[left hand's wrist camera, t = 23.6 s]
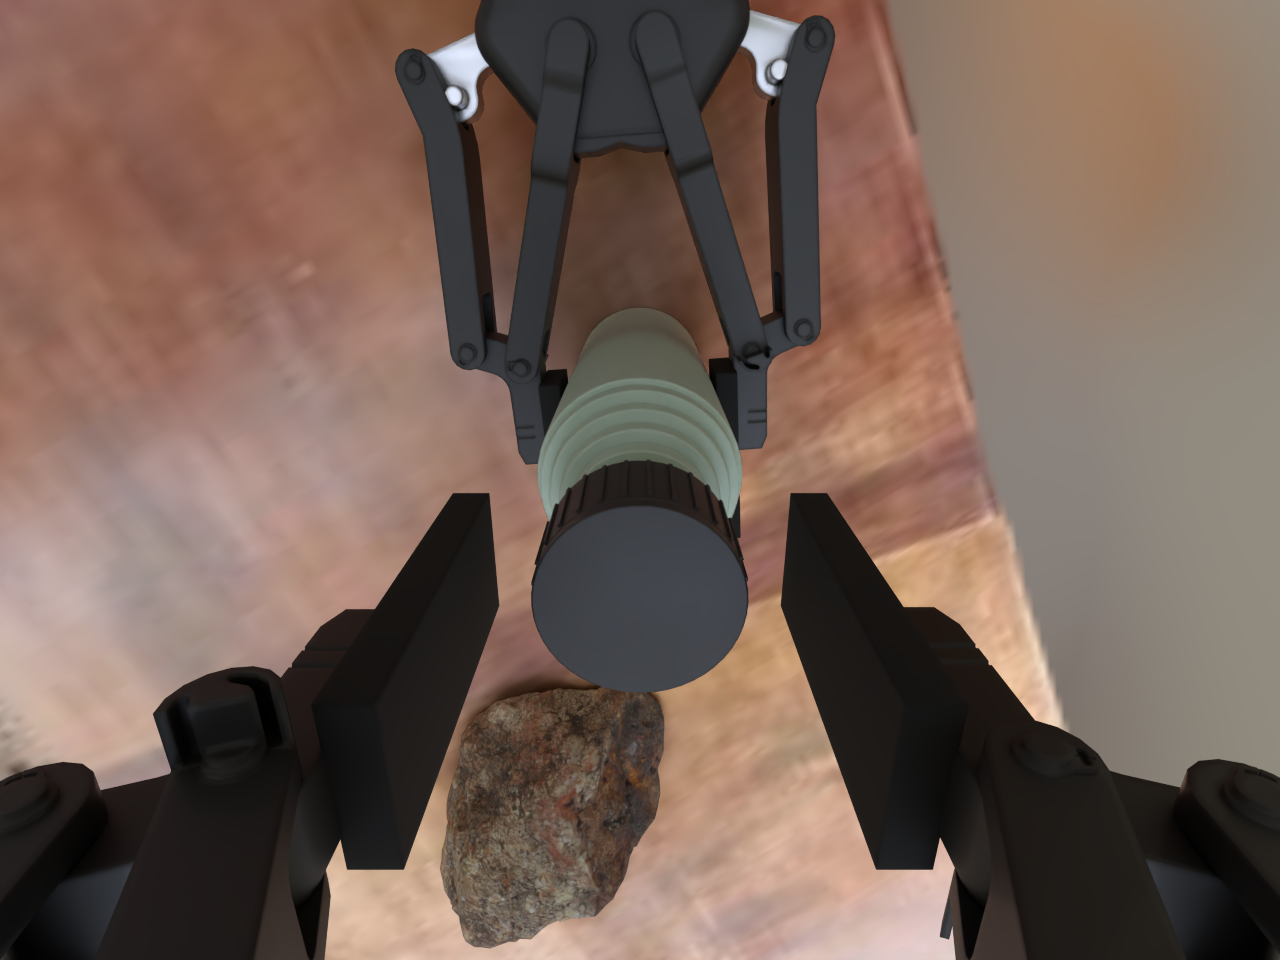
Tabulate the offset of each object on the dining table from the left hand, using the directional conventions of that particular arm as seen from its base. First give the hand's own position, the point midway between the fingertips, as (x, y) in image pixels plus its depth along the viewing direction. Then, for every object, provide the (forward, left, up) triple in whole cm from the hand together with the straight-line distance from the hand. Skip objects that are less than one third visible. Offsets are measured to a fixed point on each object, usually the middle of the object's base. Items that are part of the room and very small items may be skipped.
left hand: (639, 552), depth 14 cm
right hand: (+5, -3, -12) cm, 13 cm away
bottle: (0, 0, -19) cm, 19 cm away
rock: (+16, -17, -19) cm, 30 cm away
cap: (0, 0, +2) cm, 2 cm away
